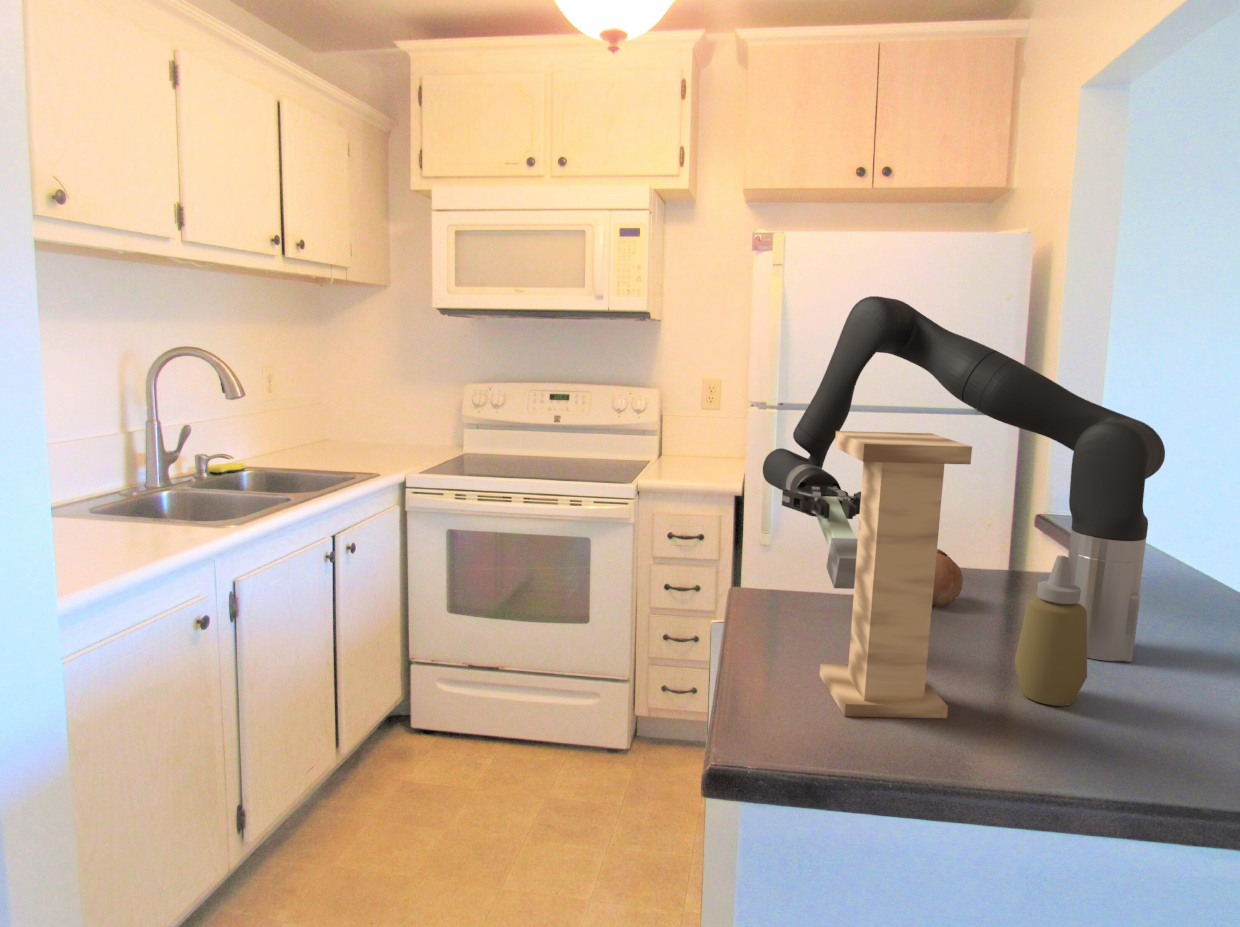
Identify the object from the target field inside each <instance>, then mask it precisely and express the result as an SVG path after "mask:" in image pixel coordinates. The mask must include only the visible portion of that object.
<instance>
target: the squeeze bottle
mask: <svg viewBox="0 0 1240 927" xmlns="http://www.w3.org/2000/svg"><path fill="white" fill-rule="evenodd" d="M1080 593H1081V590H1080V588H1079V587H1077V586H1075V585H1073V584H1071V577H1070V570H1069V562H1068V556H1065V555H1057V556H1056V558H1055V561H1054V564H1053V566H1052V569H1051V572H1050V574H1049V577H1048V580H1043V581H1042V580H1041V581H1040V582H1038V583H1037V592H1036V596H1035V597H1033V598H1032V599H1030V600H1029V601H1027V603H1026V608H1025V613H1024V617H1023V622H1022V625H1021V629H1020V635H1019V641H1018V644H1017V649H1016V652H1015V653H1016V654H1015V656H1014V657H1015V658H1014V665H1015V669H1016V675H1017V679H1018V683H1019V687H1020V691H1021V694H1022V695H1023V696H1025V697H1026V698H1028V699H1030V700H1031V701H1034V702H1037V703H1040V704H1043V705H1049V706H1055V707H1057V706H1059V707H1062V706H1063V707H1065V706H1070V705H1072V704H1073V703H1074V702H1075V700H1076V699H1077V697H1078V694H1079V693H1080V691H1081V689H1082V687H1083V685H1084V683H1085V682H1086V680H1087V678H1088V657H1087V611H1086V609H1085V608H1084V607H1083V606H1082V605H1081V604H1079V603H1078V602H1079V601H1080Z"/></svg>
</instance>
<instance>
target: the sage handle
mask: <svg viewBox="0 0 1240 927" xmlns="http://www.w3.org/2000/svg"><path fill="white" fill-rule="evenodd" d="M821 498H822V499H824V500H825V501H826V502H828V503H829V505H830V511H829V518H823V517H822V516H821V515H818V514H816V516H817V517H816V519H817V521H818V524H819V526H820V528H821V531H822V534H823V536H824V538H825V541H826V544H827V546H828V549H829V551H828V555H827V556H828V557H827V562H826V571H827V573H828V576H829V578H830V581H831V583H832V586H833V589H846V590H847V589H849V590H850V589H851V590H854V584H855V570H856V556H857V543H858V538H856V536H855V533H854V531H853V529H852V527H851V525H850V524H851V523H850V522H849V519H847V518H846V516H845V514H844V512H843V510H842V506H841V504H840V502H839V500H837V498H836V497H830V496H821Z"/></svg>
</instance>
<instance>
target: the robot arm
mask: <svg viewBox="0 0 1240 927" xmlns="http://www.w3.org/2000/svg"><path fill="white" fill-rule="evenodd" d="M876 353H881V354H882V353H883V354H889V355H893V356H895V357H898V358H900V359H903V360H905V361H908V362H910V363H912V364H913V365H916V366H918V367H920V368H921V369H924V370H925V371H927V372H928V373H929V374H930V375H932V376H933V377H934V379H936V381H937V382H938V383H939V384H940V385H941V386H942V387H943V388H944V389H945V390H946V391H947V392H948V393H950V395H952V396H953V397H954V398H956V399H957V400H959V401H960V402H962V403H964V404H965V405H967V406H969V407H971V408H972V409H974V410H976V411H978V412H980V413H981V414H984V415H985V416H987V417H988V418H989V417H990V418H991V419H994V420H997V421H998V422H1001V423H1003V424H1007V425H1009V426H1012V427H1015V428H1018V429H1021V430H1025V431H1028V432H1031V433H1035V434H1037V435H1041V436H1043V437H1046V438H1049V439H1051V440H1054V441H1055V442H1057V443H1059V444H1061V445H1063V446H1064V447H1066V448H1068V449H1070V450H1071V451H1073V455H1072V461H1071V468H1070V469H1071V470H1070V483H1069V484H1070V485H1069V495H1068V497H1069V498H1068V504H1069V510H1070V514H1071V520H1072V521H1071V527H1070V528H1071V529H1070V539H1069V546H1068V555H1067V557H1068V562H1069V570H1070V577H1071V584H1073V585H1075V586H1077V587H1079V588H1080V590H1081V593H1080V601H1079V602H1078V603H1079V604H1081V605H1082V606H1083V607H1084V608H1085V609H1086V611H1087V659H1088V658H1089V659H1094V660H1100V661H1109V662H1120V661H1121V662H1128V663H1133V655H1134V650H1135V642H1136V635H1137V634H1136V633H1137V625H1138V620H1139V618H1138V617H1139V610H1140V609H1139V608H1140V604H1141V594H1140V593H1141V591H1140V590H1141V582H1142V577H1143V576H1142V574H1143V568H1144V567H1143V566H1144V559H1145V552H1146V545H1147V544H1146V542H1147V536H1148V529H1149V520H1148V518H1147V516H1146V515H1145V513H1144V498H1145V497H1144V495H1145V487H1146V480H1147V479H1149V478H1150V477H1152V476H1153V475H1155V474H1157V472H1158V471H1160V469H1161V467H1162V466H1163V464H1164V462H1165V457H1166V448H1165V445H1164V442H1163V440H1162V438H1161V437H1160V435H1159V434H1158V432H1157V431H1156V430H1155V429H1154V428H1153V427H1151V426H1150V425H1149V424H1148V423H1145V422H1144V421H1141V420H1138V419H1136V418H1133V417H1130V416H1128V415H1125V414H1123V413H1120V412H1117V411H1114V410H1113V409H1110V408H1107V407H1104V406H1102V405H1100V404H1096V403H1095V402H1093V401H1090V400H1088V399H1085V398H1083V397H1081V396H1078V395H1077V394H1075V393H1073V392H1072V391H1070V390H1069V389H1067V388H1065V387H1064V386H1062V385H1060V384H1059V383H1057V382H1055V381H1053V380H1052V379H1050V378H1049V377H1046V376H1045V375H1044V374H1041V373H1039V372H1038V371H1036V370H1035V369H1033V368H1030V367H1029V366H1026V364H1023V363H1021V362H1020V361H1017V360H1016V359H1015V358H1012V357H1010V356H1009V355H1006V354H1004V353H1002V352H1001V351H999V350H996V349H993V348H992V347H989V346H987V345H985V344H982V343H980V342H978V341H977V340H973V339H971V338H968V337H965V336H963V335H960V334H958V333H955V332H953V331H950V330H948V329H946V328H945V327H942V326H941V325H939V324H938V323H936V322H934V321H933V320H932V319H930V318H928V317H927V316H925V315H924V314H923V313H921V312H919V311H918V310H916V309H915V308H914V307H912V306H911V305H910V304H908V303H906V302H905V301H902V300H899V299H895V298H891V297H884V296H877V295H876V296H875V295H874V296H868V297H864V298H862V299H860V300H859V301H858V302H856V303H855V304H854V305H853V307H852V309H851V310H850V311H849V314H848V315H847V317H846V320H845V323H844V324H843V327H842V330H841V331H840V335H839V337H838V340H837V342H836V345H835V348H834V351H833V352H832V354H831V357H830V359H829V363H828V365H827V367H826V370H825V373H824V374H823V377H822V380H821V382H820V384H819V386H818V388H817V390H816V392H815V393H814V396H813V398H812V399H811V401H810V402H809V405H808V406H807V408H806V409H805V411H804V413H803V414H802V416H801V418H800V419H799V422H798V423H797V425H796V427H795V428H794V430H793V434H792V438H793V440H794V441H795V444H797V445H798V446H799V447H800V448H801V449H803V450H804V451H806V452H807V453H808V454H809V456H808V458H807V457H805V456H803V455H800V454H797V453H795V452H794V451H791V450H789V449H787V448H786V449H785V448H782V447H781V448H776V449H774V450H772V451H770V452H769V453H768V455H767V456H766V457H765V458H764V461H763V464H762V476H763V478H764V480H765V482H766V483H768V484H769V485H771V486H772V487H774V488H777V489H778V490H780V491H781V492H782V495H781V496H782V497H781V506H782V507H785V508H788V509H792V510H794V511H797V512H799V513H803V514H805V515H808V516H810V517H816V518H817V516H816V514H818V515H821V516H822V517H823V518H829V511H830V505H829V503H828V502H826V501H825V500H824V499H822V498H821V496H830V497H836V498H837V500H839V502H840V504H841V506H842V510H843V512H844V514H845V516H846V518H847V520H853V518H854V517H856V515H860V501H861V490H860V491H857V492H854V493H853V495H851V494H850V495H849V493H848V492H847V491H846V490H842V488H841V486H840V484H839V482H838V480H837V479H836V478H835V477H834V476H833V475H832V474H830V473H829V472H827V471H826V470H824V469H823V466H824V463H825V461H826V457H827V454H828V451H829V449H830V447H831V445H832V443H833V442H835V435H836V431H841V430H842V428H843V425H844V424H845V423H846V420H847V418H848V415H849V412H850V411H851V406H852V402H853V397H854V392H855V387H856V385H857V382H858V380H859V377H860V376H861V374H862V373H863V372H862V371H863V370H864V369H865V367H866V366H867V364H868V363H869V362H870V360H871V359H872V358H873V357H874V355H876Z"/></svg>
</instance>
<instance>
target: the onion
mask: <svg viewBox="0 0 1240 927" xmlns="http://www.w3.org/2000/svg"><path fill="white" fill-rule="evenodd" d="M963 585H964V578H963V572H962V569H961V567H959V565H958V564H957V563H956V562H955V561H954V560H953V559H952V558H951V556H949V555H948V554H947V553H946V552H945V551H943V550H941V549H939V548H937V555H936V567H935V578H934V589H933V601H932V607H941V606H942V607H943V606H946V607H947V606H949V605H950V604H952V603H953V602H954V601H956V598H957V597H959V596H960V595H961V591H962V589H963Z"/></svg>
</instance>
